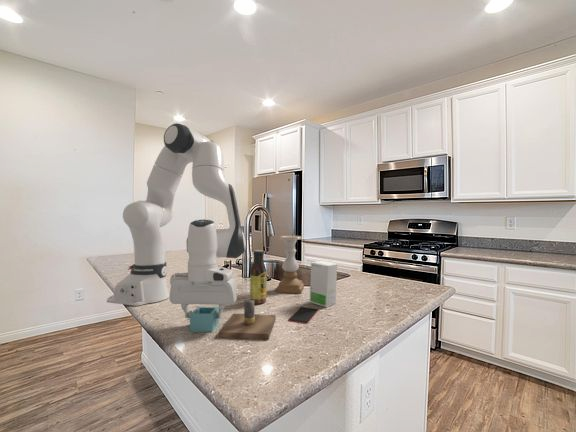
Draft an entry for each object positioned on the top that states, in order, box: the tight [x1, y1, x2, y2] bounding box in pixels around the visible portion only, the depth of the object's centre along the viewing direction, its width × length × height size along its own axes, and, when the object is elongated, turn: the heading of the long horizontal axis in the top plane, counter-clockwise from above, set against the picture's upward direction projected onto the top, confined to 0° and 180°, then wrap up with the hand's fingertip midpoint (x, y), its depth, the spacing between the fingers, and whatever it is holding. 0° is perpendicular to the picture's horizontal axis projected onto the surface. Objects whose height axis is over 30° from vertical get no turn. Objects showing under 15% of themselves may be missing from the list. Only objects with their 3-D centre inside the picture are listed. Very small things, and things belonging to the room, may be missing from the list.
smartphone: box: [287, 306, 319, 325], centre depth 95 cm, size 7×1×14 cm
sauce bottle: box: [249, 249, 268, 305], centre depth 108 cm, size 6×6×20 cm
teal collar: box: [189, 306, 220, 333], centre depth 85 cm, size 7×7×5 cm
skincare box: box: [309, 260, 338, 308], centre depth 107 cm, size 8×7×16 cm
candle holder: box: [275, 235, 305, 295], centre depth 125 cm, size 11×11×24 cm
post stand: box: [218, 299, 277, 340], centre depth 84 cm, size 14×14×8 cm
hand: (203, 317), depth 86 cm, fingers open, 8 cm apart
